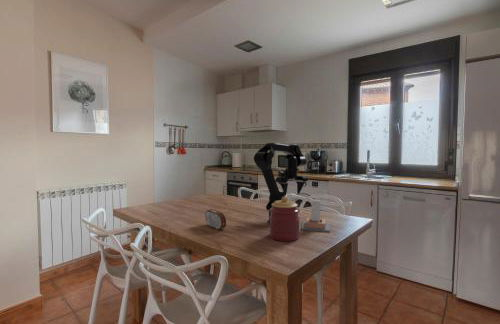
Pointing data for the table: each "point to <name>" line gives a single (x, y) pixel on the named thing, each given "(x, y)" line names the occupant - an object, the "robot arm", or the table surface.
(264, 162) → the robot arm
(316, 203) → the steel square bar
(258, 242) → the table surface
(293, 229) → the canister
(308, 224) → the pocket board
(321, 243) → the table surface
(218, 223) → the tin
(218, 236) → the table surface
